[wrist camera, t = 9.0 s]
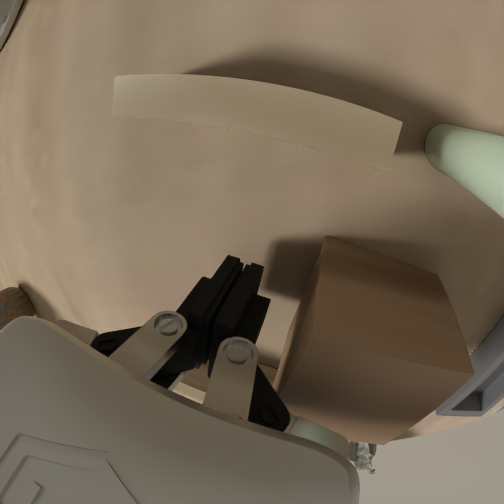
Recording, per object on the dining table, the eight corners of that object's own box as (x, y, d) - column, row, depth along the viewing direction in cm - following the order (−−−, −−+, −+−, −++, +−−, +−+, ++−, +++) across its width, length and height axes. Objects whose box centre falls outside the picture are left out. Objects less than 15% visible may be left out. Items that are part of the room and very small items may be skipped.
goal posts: (431, 115, 8) (522, 130, 3) (470, 137, 7) (566, 174, 2) (299, 395, 18) (281, 467, 13) (324, 401, 17) (310, 472, 12)
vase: (40, 307, 26) (-2, 348, 19) (41, 326, 30) (6, 362, 23) (12, 270, 25) (-30, 306, 18) (15, 294, 29) (-20, 326, 22)
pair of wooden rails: (168, 78, 10) (115, 76, 7) (380, 119, 8) (402, 122, 5) (162, 338, 19) (138, 371, 16) (277, 381, 17) (264, 423, 15)
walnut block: (325, 234, 12) (311, 336, 7) (437, 274, 11) (474, 374, 6) (289, 327, 15) (262, 421, 10) (383, 353, 14) (383, 444, 9)
